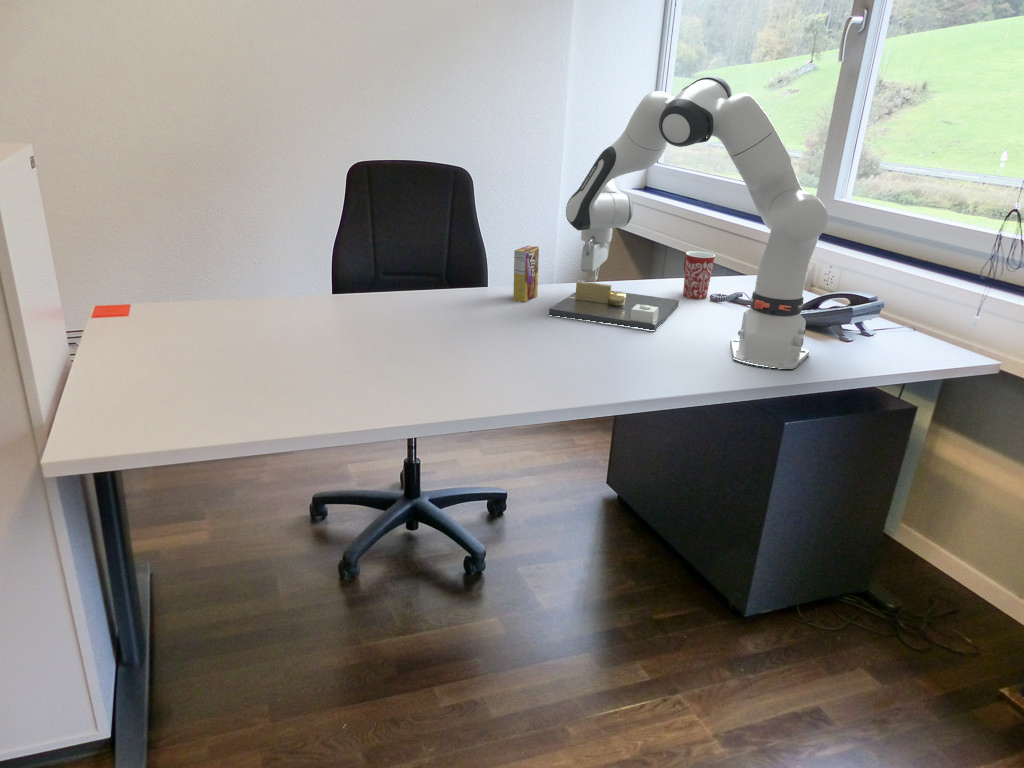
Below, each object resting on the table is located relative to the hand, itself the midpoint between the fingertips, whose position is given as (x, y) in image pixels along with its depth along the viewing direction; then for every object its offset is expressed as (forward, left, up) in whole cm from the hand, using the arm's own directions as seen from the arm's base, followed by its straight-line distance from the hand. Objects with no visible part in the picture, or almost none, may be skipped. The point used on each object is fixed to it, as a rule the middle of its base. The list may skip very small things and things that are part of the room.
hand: (593, 281), depth 220 cm
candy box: (-7, +19, -7) cm, 21 cm away
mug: (+26, -25, -7) cm, 37 cm away
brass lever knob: (-6, -4, -4) cm, 9 cm away
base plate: (-6, -9, -6) cm, 13 cm away
